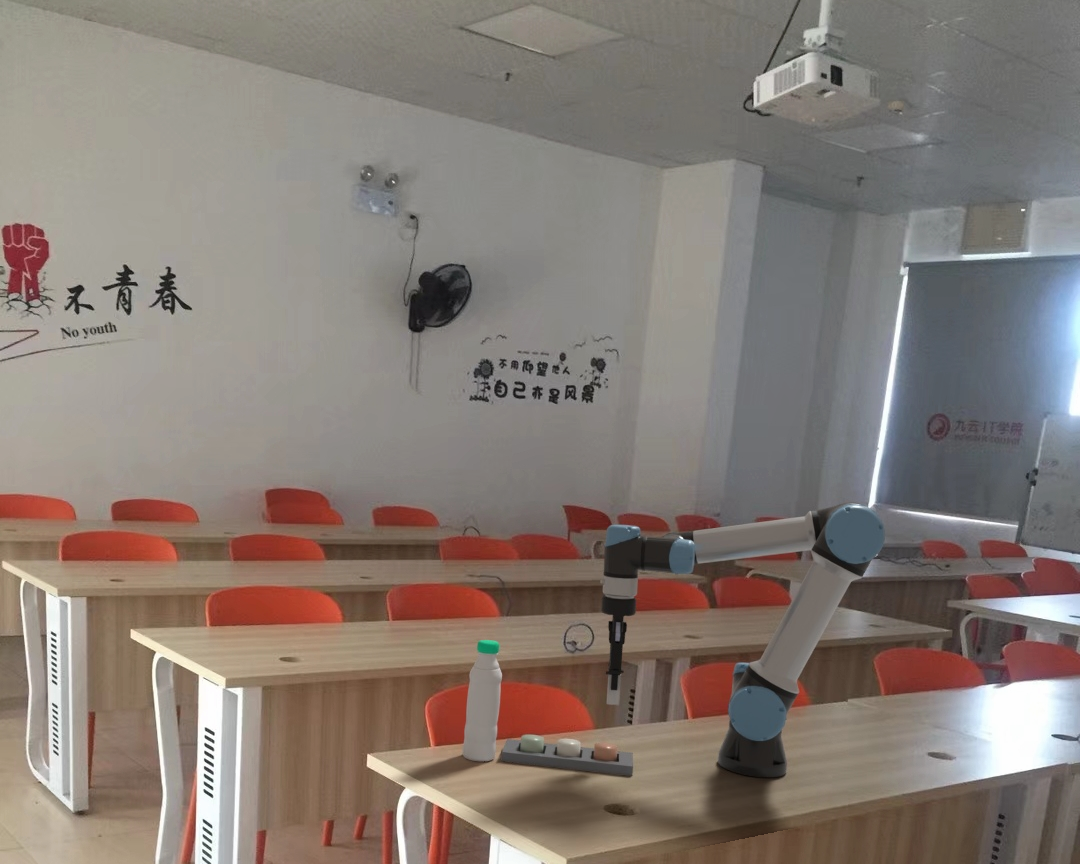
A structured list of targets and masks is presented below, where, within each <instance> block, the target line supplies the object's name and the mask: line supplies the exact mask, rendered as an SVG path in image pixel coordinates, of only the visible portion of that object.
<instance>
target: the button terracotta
mask: <svg viewBox="0 0 1080 864" xmlns="http://www.w3.org/2000/svg"><path fill="white" fill-rule="evenodd" d="M593 746H594V747H593V748H594V757H593V759H596V760H605V761H614V762H616V760H617V751H618V750H619V749H618V746H617V745H616V744H614V743H609V742H597V743H596V742H595V744H594V745H593Z"/></svg>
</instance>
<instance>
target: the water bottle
mask: <svg viewBox="0 0 1080 864" xmlns="http://www.w3.org/2000/svg"><path fill="white" fill-rule="evenodd" d="M476 651H477V652H476V653H477V654H478V657H477V659H476V660H475V662H474V664H473V666H472V668H471V670H470V671H469V675H468V676H469V683H468V684H469V685H468V690H467V698H466V699H467V700H466V710H465V711H466V713H465V714H466V716H465V719H466V721H465V725H464V732H463V733H464V735H463V736H464V740H463V745H462V756H463V757H464V758H465V759H467V760H469V761H472V762H484V761H485V762H490V761H492V760H493V759H495V756H496V752H497V751H496V750H497V743H496V740H497V738H498V721H499V714H500V706H501V686H502V685H501V682H502V679H503V673H502V670H501V668H500V664H499V661H498V659H497V657H498V655H499V652H500V643H499V642H498V641H496V640H491V639H482V640H481V639H480V640H478V642H477V646H476ZM485 762H484V763H485Z"/></svg>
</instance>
